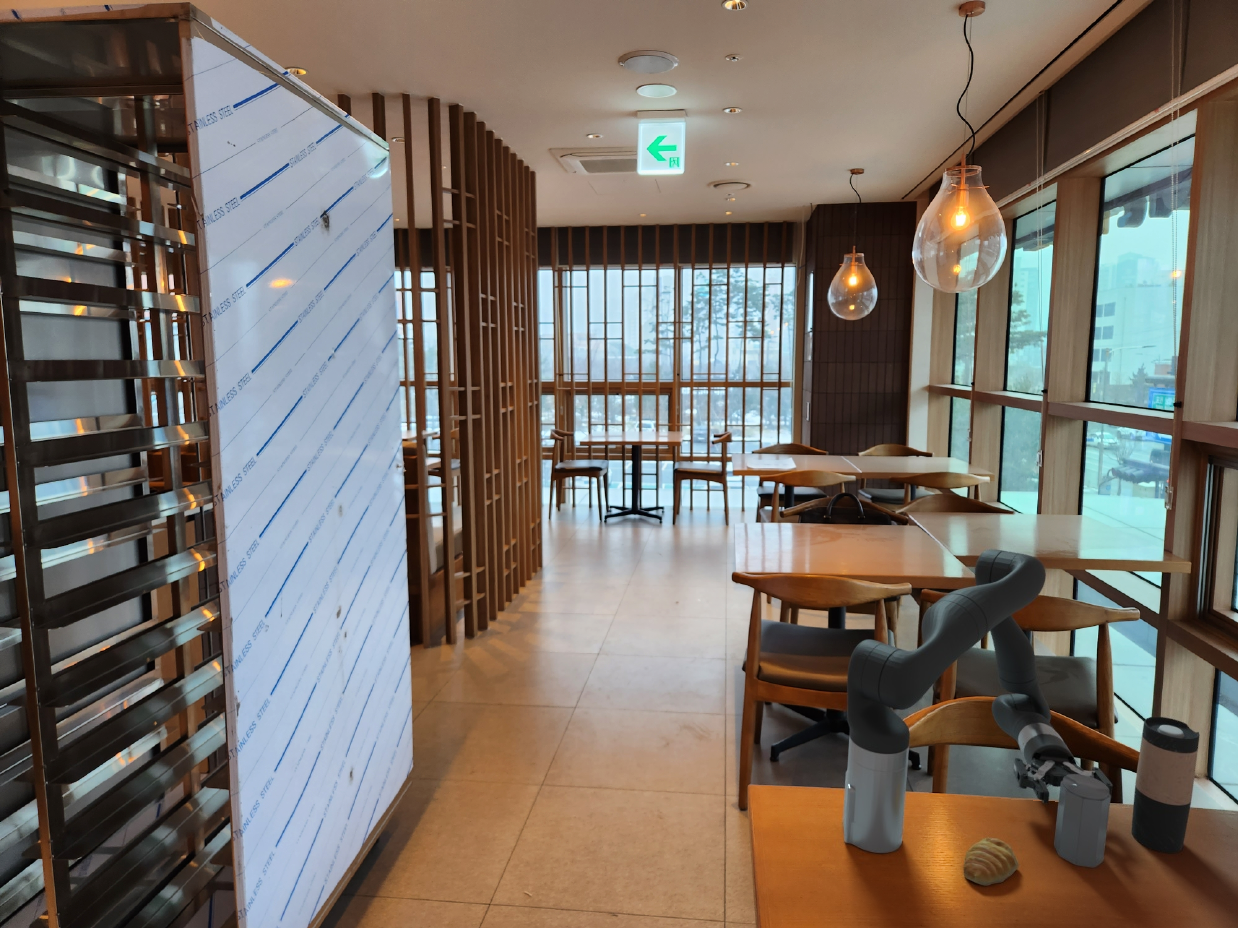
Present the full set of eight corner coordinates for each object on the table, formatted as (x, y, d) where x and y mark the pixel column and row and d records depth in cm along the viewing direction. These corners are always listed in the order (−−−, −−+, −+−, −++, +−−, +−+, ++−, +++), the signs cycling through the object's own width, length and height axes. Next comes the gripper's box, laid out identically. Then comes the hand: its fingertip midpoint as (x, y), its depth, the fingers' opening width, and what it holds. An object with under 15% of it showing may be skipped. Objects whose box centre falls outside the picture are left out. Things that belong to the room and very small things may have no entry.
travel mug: (1124, 839, 132) (1138, 727, 129) (1134, 819, 137) (1148, 711, 134) (1180, 860, 127) (1196, 744, 123) (1188, 838, 132) (1204, 726, 129)
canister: (1062, 863, 126) (1070, 793, 124) (1050, 838, 132) (1057, 771, 130) (1107, 869, 125) (1116, 799, 123) (1092, 843, 131) (1100, 776, 129)
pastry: (995, 897, 118) (997, 874, 118) (950, 874, 123) (952, 852, 123) (1020, 869, 125) (1022, 847, 124) (977, 849, 130) (979, 827, 129)
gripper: (1005, 728, 147) (1030, 775, 131) (1090, 737, 144) (1126, 786, 128) (1001, 766, 148) (1025, 816, 132) (1085, 775, 145) (1120, 829, 129)
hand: (1075, 801), depth 130 cm, fingers open, 8 cm apart
